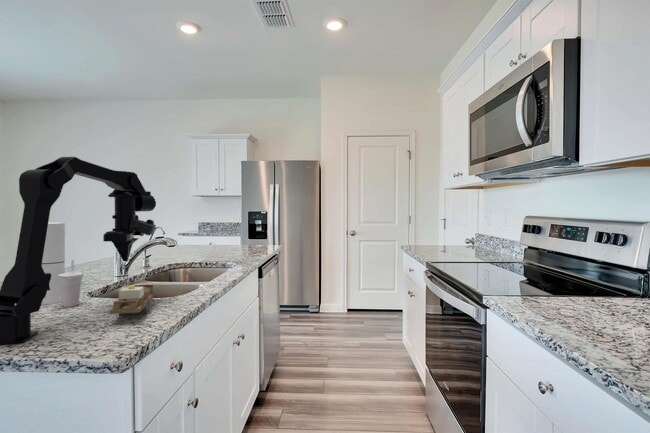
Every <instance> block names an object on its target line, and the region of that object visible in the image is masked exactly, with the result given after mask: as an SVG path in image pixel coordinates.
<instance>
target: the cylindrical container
mask: <svg viewBox="0 0 650 433" xmlns="http://www.w3.org/2000/svg"><path fill="white" fill-rule="evenodd" d="M65 224H66V222H48V228H47V234H46V241H45V247H44V253H43V260H42V268H43V270H44V273H51V280H50V283H49V287H50V290H49V291H48V290H47V293H46V296H45V298H44V299H43V300H42V303H41V305H52V304H53V305H54V304H57V303H58V302H59V303H61V302H62V303H63V301H62V294H61V288H60V281H59V279H58V275H59V274H63V273H66V271H65V270H66V268H65V267H66V266H65V264H66V258H65V257H66V256H65V255H66V251H65V250H66V249H65V248H66V247H65V246H66V244H65V243H66V241H65V240H66V238H65V236H66V231H65V230H66V225H65Z"/></svg>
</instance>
